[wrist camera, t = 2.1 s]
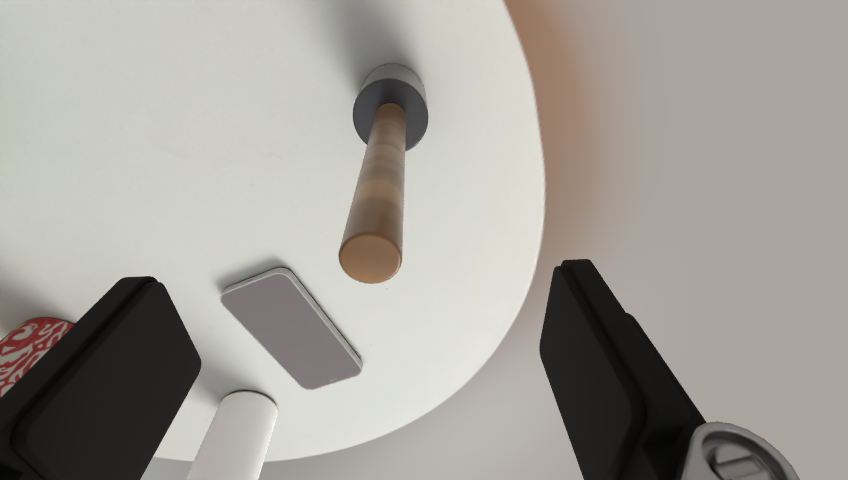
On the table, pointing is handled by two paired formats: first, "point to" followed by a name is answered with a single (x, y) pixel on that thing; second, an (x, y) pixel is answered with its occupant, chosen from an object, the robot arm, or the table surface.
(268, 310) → the smartphone
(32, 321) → the mug
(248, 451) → the can
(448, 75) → the table surface
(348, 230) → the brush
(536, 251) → the table surface
